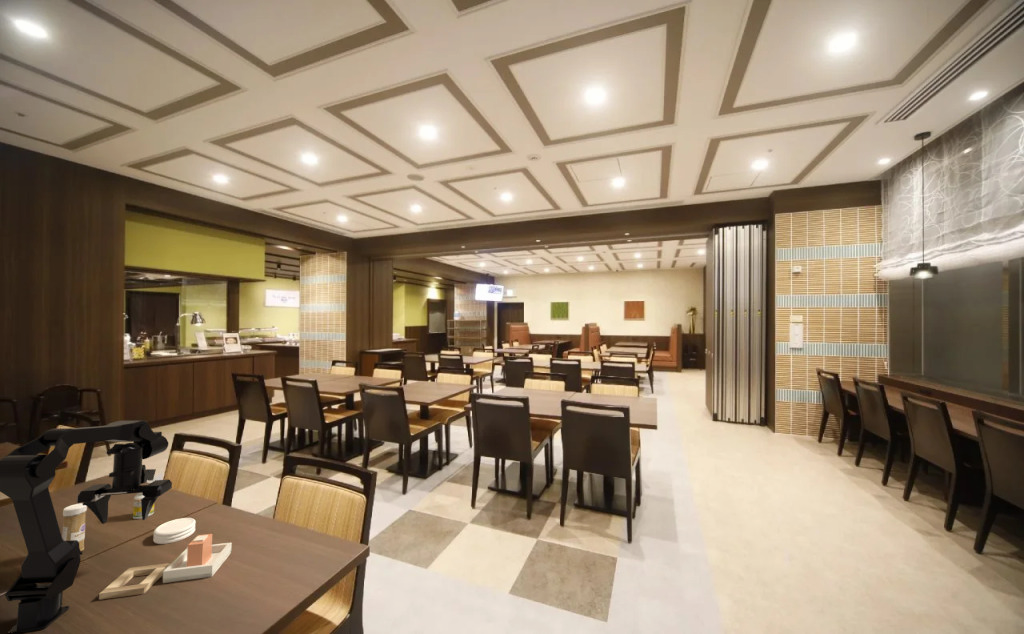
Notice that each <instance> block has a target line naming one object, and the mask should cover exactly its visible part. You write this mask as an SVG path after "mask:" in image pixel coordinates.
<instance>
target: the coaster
mask: <svg viewBox="0 0 1024 634" xmlns="http://www.w3.org/2000/svg"><path fill="white" fill-rule="evenodd" d="M196 526H197V525H196V520H195V519H194V518H192V517H181V518H176V519H171V520H170V521H166V522H164V523H162V524H160V525H159V526H157V527H156V528H155V529H154V530H153V539H152V541H153V542H154V544H158V545H167V544H172V543H175V542H179V541H180V542H181V541H182V540H185V539H186V538H188V537H190V536H191V535H193V534H194V533H195V532H196Z"/></svg>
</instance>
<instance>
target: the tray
mask: <svg viewBox="0 0 1024 634" xmlns="http://www.w3.org/2000/svg"><path fill="white" fill-rule="evenodd" d="M232 544H233V543H232V542H224V543H216V544H215V543H214V544H213V543H212V554H211V558H210V559H209V560H208V561H207V563H206V564H205V565H198V566H190V567H187V552H188V547H186V549H185V550H184V551H182V552H181V553H180V554H179V556H177V558H175V559H174V560H173V561H172V562H171V563H169V566H168V567H167V568H166V569H165V570H164V571H163V575H162V584H166V583H168V584H169V583H172V582H173V583H175V582H181V581H182V582H183V581H188V580H189V581H191V580H197V579H204V578H205V579H206V578H212V577H213V576H214V575H215V573H216V572H217V571H218V570H219V568H220V567H221V566H222V565H223V564H224V563H225V562H226V560H227V558H229V556H230V555H231V553H232Z"/></svg>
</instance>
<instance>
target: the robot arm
mask: <svg viewBox="0 0 1024 634" xmlns="http://www.w3.org/2000/svg"><path fill="white" fill-rule="evenodd" d="M162 433H163V432H162V431H154V430H153V429H152V428H151V427H150V425H149V423H148V421H147V420H117V421H114V422H110V423H108V424H106V425H101V426H100V425H99V426H87V427H86V426H85V427H73V428H69V427H68V428H66V427H65V428H51V429H49V430H48V429H47V430H45V431H44V432H43V433H42V434H40V435H39V436H38V437H36V438H35V439H33V440H30V441H28V442H27V443H25V444H22V445H20V446H18V447H16V448H15V449H13V450H12V451H10V453H8V454H7V455H6V456H5V457H3V458H0V493H1V494H3V495H5V496H6V497H8V498H10V499H11V500H12V504H13V508H14V510H15V514H16V516H17V520H18V524H19V527H20V529H21V534H22V537H23V540H24V543H25V547H26V550H27V555H26V556H25V558H24V560H23V561H22V563H21V565H20V566H21V567H20V569H21V572H20V574H19V576H18V577H17V578H16V579H15V581H14V582H13V583H12V584H11V586H10V587H9V589H7V591H6V593H5V594H4V597H5V598H6V600H7V602H12V601H20V602H19V603H18V604H17V617H16V618H17V620H16V624H15V625H14V626H12V627H11V628H12V629H13V630H12V631H10V633H11V632H13V634H19V633H25V632H32V631H39V630H44V629H46V628H47V627H49V625H51V624H52V623H53V622H55V621H56V620H57V619H59V618H60V617H61V616H62V615H63V614H64V613H66V612H67V611H68V610H69V609H70V605H64V606H62V605H63V593H64V591H66V590H68V589H69V588H70V587H71V586H73V585H74V581H75V579H76V576H77V573H78V570H79V568H80V564H81V561H82V560H81V556H82V555H83V552H82V551H80V548H79V542H78V541H77V540H70V541H64V540H63V539H62V533H61V529H60V526H59V521H58V517H57V515H56V512H55V507H54V503H53V501H52V496H51V493H50V485H51V484H52V483H53V481H54V478H55V477H56V468H58V466H59V465H61V464H62V463H63V462H64V461H65V460H66V459H67V456H68V453H69V450H70V448H71V447H72V446H73V445H78V444H87V443H96V442H113V443H114V442H115V444H113V446H112V447H111V448H109V449H108V450H107V451H106V455H113V465H112V472H111V471H110V473H108V476H109V477H108V478H112V480H111V481H112V483H111V484H110V483H100V484H93V485H91V486H89V487H87V488H85V489H83V490H81V491H79V492H78V493H77V495H76V504H80V503H83V505H86V506H87V509H89V510H90V511H91V512H92V513H93V514H94V515H95V517H96V518H97V519H98V521H99V522H100V523H101V524H102V525H104V524H106V523H107V522H108V517H109V501H110V498H111V496H115V495H117V496H118V495H127V494H137V493H143V494H142V495H143V496H144V498H142V499H141V508H142V518H141V519H142V521H145V520H147V518H148V517H149V516H148V515H149V513H150V511H151V509H152V506H153V504H154V505H155V503H156V501H157V499H158V498H159V497H160V496H162V495H163V494H165V493H167V492H168V491H169V490H171V489H172V486H173V482H172V481H171V480H170V479H169V478H168V479H167V478H166V479H157V480H156V479H155V480H154V478H155V474H156V469H152V468H151V469H150V468H148V469H147V468H146V464H143V460H146V459H149V458H151V457H154V456H156V455H159V454H161V453H164V452H165V451H166V450H167V449H168V447H169V441H168V439H167V438H166V437H165V436H164V435H162ZM117 442H121V443H117ZM51 447H54V448H53V449H52V450H51V451H50V452H49V453H48V454H41V453H42V452H45V451H47V450H48V449H50V448H51ZM148 481H152V482H150V483H148V484H145V483H147V482H148ZM15 632H16V633H15Z"/></svg>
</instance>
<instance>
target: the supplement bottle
mask: <svg viewBox="0 0 1024 634" xmlns="http://www.w3.org/2000/svg"><path fill="white" fill-rule="evenodd" d="M142 494H143V493H136V495H135V496H134V497H133V507H132V518H133V519H134V520H141V519H142V508H141V499H142V498H144V496H143V495H142ZM153 514H155V503H154V504H153V506H152V509H151V511H150V513H149V515H148V517H151V516H152V515H153Z"/></svg>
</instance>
